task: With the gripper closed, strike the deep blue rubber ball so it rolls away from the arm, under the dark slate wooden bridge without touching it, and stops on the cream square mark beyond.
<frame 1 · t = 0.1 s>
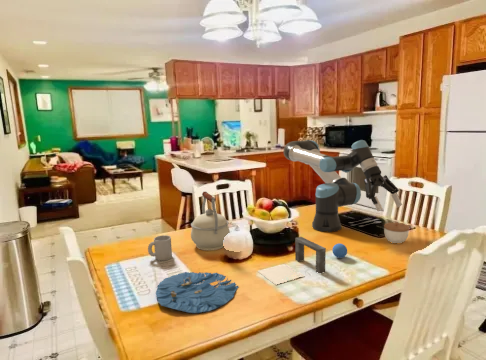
hand: (390, 208, 161), 15 cm above the table, tool tilted 35°, fingers open, 13 cm apart
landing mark: (280, 273, 130), on the table
cup: (160, 258, 149), on the table
bridge: (309, 265, 137), on the table
blue cloth: (194, 292, 120), on the table
lidded jar: (395, 242, 160), on the table
ball: (339, 250, 144), on the table
kettle: (210, 244, 164), on the table
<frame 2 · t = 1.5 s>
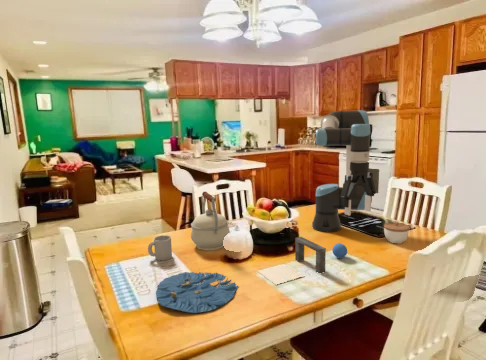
hand: (357, 212, 145), 18 cm above the table, tool pointing down, fingers open, 11 cm apart
nothing on the table moved.
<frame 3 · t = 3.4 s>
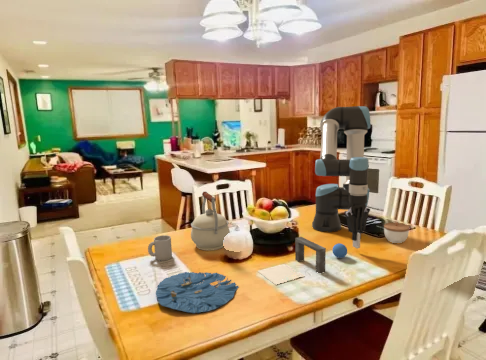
hand: (356, 247, 148), 3 cm above the table, tool pointing down, fingers closed
nothing on the table moved.
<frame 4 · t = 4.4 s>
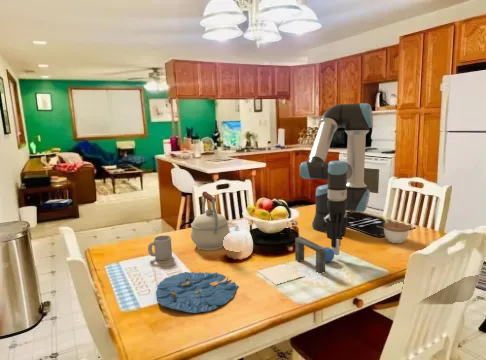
hand: (335, 253, 142), 2 cm above the table, tool pointing down, fingers closed
ball: (326, 254, 140), on the table
everything else where it was.
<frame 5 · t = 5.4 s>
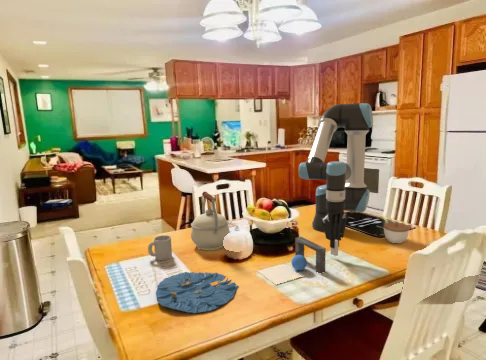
hand: (334, 254, 142), 2 cm above the table, tool pointing down, fingers closed
ball: (299, 262, 133), on the table
everything else where it was.
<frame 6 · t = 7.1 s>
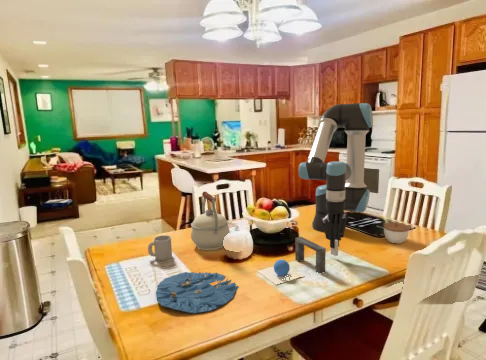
hand: (334, 254, 142), 2 cm above the table, tool pointing down, fingers closed
ball: (281, 267, 129), on the table
everything else where it was.
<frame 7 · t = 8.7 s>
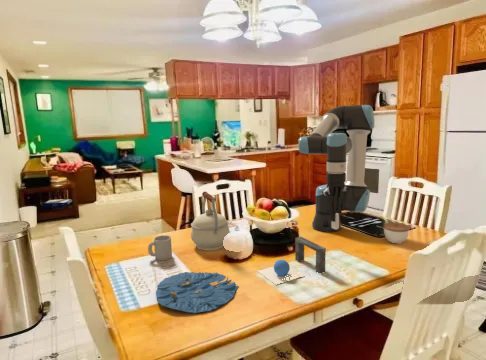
hand: (335, 228, 141), 13 cm above the table, tool pointing down, fingers closed
nothing on the table moved.
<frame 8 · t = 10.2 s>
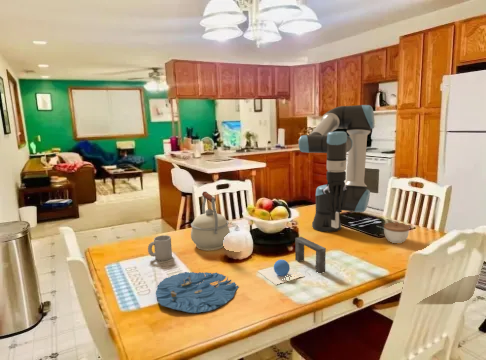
hand: (334, 227, 140), 14 cm above the table, tool pointing down, fingers closed
nothing on the table moved.
at the end: ball 1.0 cm from the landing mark (horizontally); ball never touched bridge; ball at rest at the end (0.0 cm/s) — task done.
